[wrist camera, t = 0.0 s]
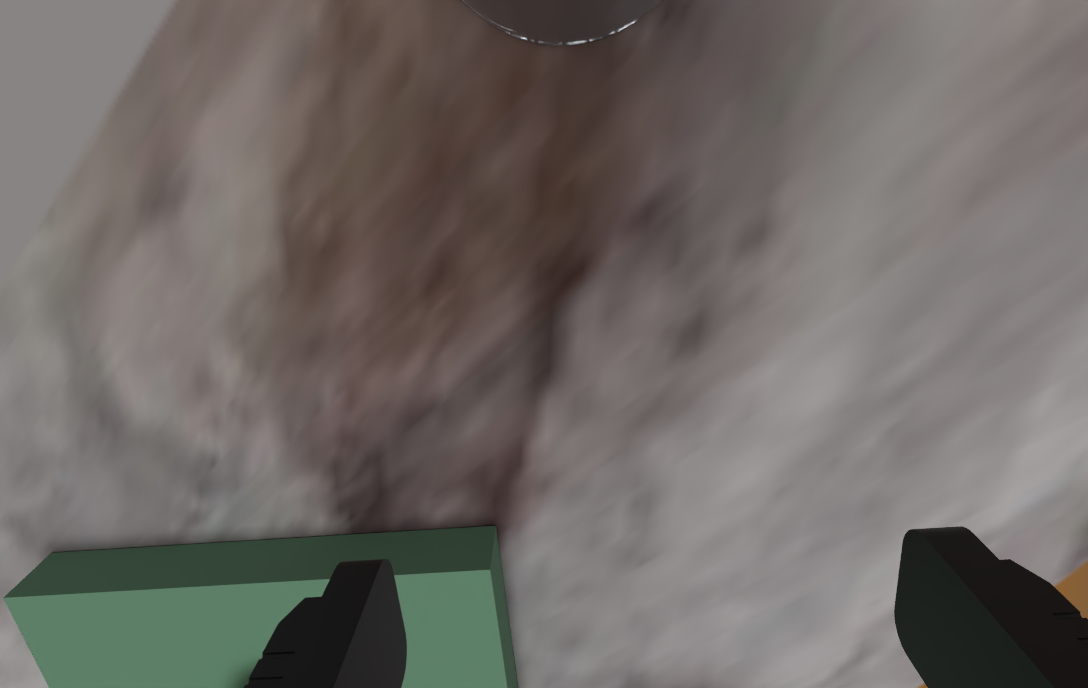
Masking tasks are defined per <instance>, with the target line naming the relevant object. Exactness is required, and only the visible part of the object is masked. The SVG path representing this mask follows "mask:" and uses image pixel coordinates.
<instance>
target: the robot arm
mask: <svg viewBox="0 0 1088 688" xmlns="http://www.w3.org/2000/svg"><path fill="white" fill-rule="evenodd" d="M462 1H463V2H464V3H465V4H466V5H468V6H469V7H470V8H471V9H472V10H474V11H475V12H476V13H477V14H478V15H480V16H481V17H482V18H483V19H485V20H486V21H487V22H488V23H489V24H491V25H492V26H494V27H496V28H498V29H500V30H502V31H503V32H505V33H506V34H508V35H511V36H513V37H515V38H517V39H521V40H525V41H529V42H533V43H536V44H540V45H551V46H573V45H578V44H583V43H587V42H592V41H597V40H600V39H602V38H605V37H607V36H609V35H611V34H615V33H617V32H619V31H621V30H622V29H624V28H626V27H628V26H630V25H631V24H633V23H635V22H636V21H638V20H639V17H641V16H642V15H643V14H645V13H646V12H648V11H649V10H651V9H652V8H653V7H655V6H656V5H657V4H659V3H660V2H661V1H663V0H462ZM894 613H895V624H896V629H897V633H898V636H899V639H900V642H901V644H902V647H903V649H904V651H905V653H906V654H907V656H908V658H909V659H910V661H911V662H912V664H913V665H914V667H915V669H916V670H917V672H918V673H919V675H920V676H921V678H922V679H923V681H924V683H925V684H926V686H927V687H928V688H1088V619H1087V618H1082V617H1081V615H1080V611H1078V609H1076V608H1075V607H1074V606H1073V605H1072V604H1071V603H1070V602H1069V601H1068V600H1067V599H1066V598H1065V597H1064V596H1063V595H1062V594H1061V593H1060V592H1059V591H1058V590H1057V589H1056V588H1055V587H1054V586H1053V585H1051V584H1050V583H1049V582H1047V581H1046V580H1044V579H1042V578H1041V577H1039V576H1037V575H1036V574H1034V573H1032V572H1030V571H1029V570H1027V569H1025V568H1024V567H1022V566H1020V565H1019V564H1017V563H1015V562H1014V561H1012V560H1010V559H1008V560H999V559H998V558H997V557H996V556H995V555H994V554H993V553H992V552H991V551H990V550H989V549H988V548H987V547H986V546H985V545H984V544H983V543H982V542H981V541H980V540H979V539H978V538H977V537H976V536H975V535H974V534H973V533H972V532H971V531H970V530H969V529H967V528H965V527H944V528H927V529H911V530H909V531H908V532H907V533H906V534H905V536H904V539H903V545H902V553H901V561H900V569H899V577H898V585H897V593H896V601H895V610H894ZM406 660H407V640H406V632H405V627H404V622H403V617H402V612H401V607H400V602H399V597H398V592H397V587H396V582H395V577H394V572H393V568H392V565H391V563H390V561H389V560H388V559H377V560H360V561H343V562H340V563H339V564H338V565H337V566H336V568H335V570H334V572H333V574H332V576H331V578H330V580H329V582H328V584H327V586H326V588H325V591H324V593H323V595H322V597H307V598H304V599H303V600H302V601H301V602H300V603H299V604H298V605H297V606H296V607H295V608H294V609H293V610H292V611H291V612H290V613H289V614H288V615H286V616H285V617H284V618H283V619H282V620H281V621H280V622H279V623H278V625H277V627H276V629H275V630H274V632H273V634H272V636H271V638H270V640H269V642H268V643H267V645H266V647H265V649H264V651H263V653H262V659H259V660H258V662H257V664H256V666H255V667H254V669H253V671H252V673H251V675H250V677H249V683H248V685H245V686H244V688H401V687H402V683H403V679H404V675H405V669H406Z"/></svg>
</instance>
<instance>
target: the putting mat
mask: <svg viewBox="0 0 1088 688" xmlns="http://www.w3.org/2000/svg"><path fill="white" fill-rule="evenodd" d="M377 559H388V560H389V561H390V563H391V565H392V568H393V572H394V577H395V582H396V587H397V592H398V597H399V602H400V607H401V612H402V617H403V622H404V627H405V632H406V640H407V660H406V669H405V675H404V679H403V683H402V687H401V688H518V683H517V675H516V668H515V661H514V654H513V646H512V639H511V632H510V624H509V617H508V610H507V603H506V595H505V588H504V581H503V574H502V566H501V559H500V552H499V545H498V537H497V530H496V526H482V527H466V528H449V529H433V530H416V531H400V532H384V533H367V534H351V535H335V536H318V537H302V538H286V539H269V540H253V541H236V542H220V543H204V544H187V545H171V546H155V547H138V548H122V549H105V550H89V551H73V552H56V553H51V554H50V555H49V556H48V557H47V558H46V559H44V560H43V561H42V562H41V563H40V564H39V565H38V566H37V567H36V568H35V569H34V570H33V571H32V572H31V573H29V574H28V575H27V576H26V577H25V578H24V579H23V580H22V581H21V582H20V583H19V584H18V585H17V586H16V587H15V588H13V589H12V590H11V591H10V592H9V593H8V594H7V595H6V596H5V597H4V600H5V602H6V604H7V606H8V608H9V610H10V612H11V614H12V616H13V618H14V620H15V622H16V624H17V626H18V628H19V630H20V632H21V633H22V635H23V637H24V639H25V641H26V643H27V645H28V647H29V649H30V651H31V653H32V655H33V657H34V659H35V661H36V663H37V665H38V667H39V669H40V671H41V673H42V675H43V677H44V678H45V680H46V682H47V684H48V686H49V688H244V686H245V685H248V683H249V677H250V675H251V673H252V671H253V669H254V667H255V666H256V664H257V662H258V660H259V659H262V653H263V651H264V649H265V647H266V645H267V643H268V642H269V640H270V638H271V636H272V634H273V632H274V630H275V629H276V627H277V625H278V623H279V622H280V621H281V620H282V619H283V618H284V617H285V616H286V615H288V614H289V613H290V612H291V611H292V610H293V609H294V608H295V607H296V606H297V605H298V604H299V603H300V602H301V601H302V600H303V599H304V598H307V597H322V595H323V593H324V591H325V588H326V586H327V584H328V582H329V580H330V578H331V576H332V574H333V572H334V570H335V568H336V566H337V565H338V564H339V563H340V562H343V561H360V560H377Z"/></svg>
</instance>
